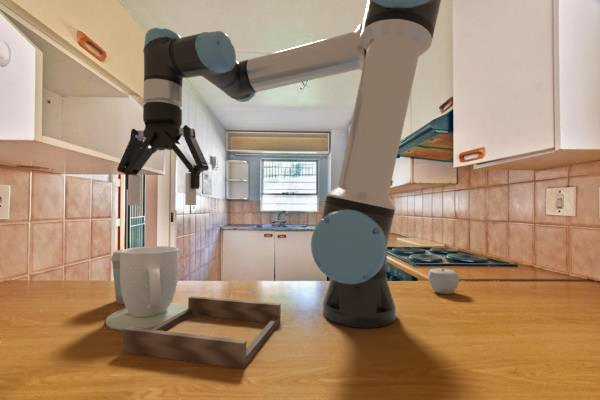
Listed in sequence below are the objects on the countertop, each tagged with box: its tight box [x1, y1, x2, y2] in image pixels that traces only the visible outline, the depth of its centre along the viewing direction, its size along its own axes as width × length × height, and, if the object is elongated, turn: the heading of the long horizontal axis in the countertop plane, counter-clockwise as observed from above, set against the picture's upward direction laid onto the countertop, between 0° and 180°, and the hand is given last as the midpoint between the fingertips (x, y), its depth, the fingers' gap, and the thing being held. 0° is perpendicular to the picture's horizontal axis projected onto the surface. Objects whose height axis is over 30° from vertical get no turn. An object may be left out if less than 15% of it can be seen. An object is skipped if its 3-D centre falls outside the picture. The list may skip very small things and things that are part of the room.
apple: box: [427, 267, 460, 295], centre depth 81 cm, size 8×8×7 cm
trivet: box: [105, 301, 188, 332], centre depth 61 cm, size 15×15×1 cm
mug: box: [120, 245, 180, 317], centre depth 60 cm, size 15×11×13 cm
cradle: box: [122, 295, 282, 370], centre depth 52 cm, size 20×18×4 cm
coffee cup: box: [110, 249, 125, 305], centre depth 72 cm, size 8×8×12 cm
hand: (161, 205), depth 63 cm, fingers open, 13 cm apart
